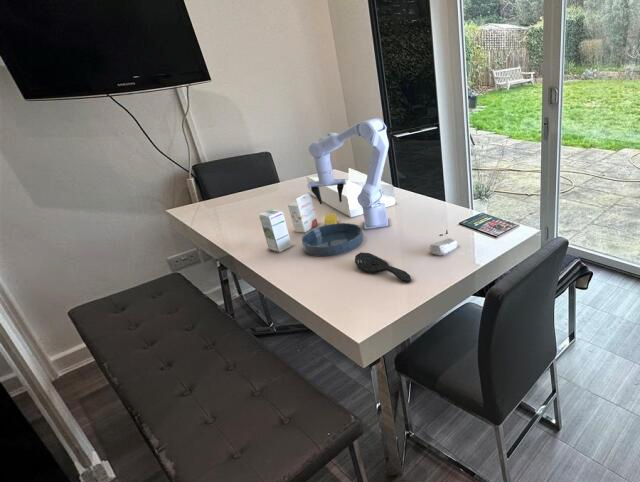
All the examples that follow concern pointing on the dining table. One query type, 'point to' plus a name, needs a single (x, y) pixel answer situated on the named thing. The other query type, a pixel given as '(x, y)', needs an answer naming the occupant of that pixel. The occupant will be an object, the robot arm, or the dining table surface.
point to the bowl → (332, 239)
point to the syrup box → (275, 230)
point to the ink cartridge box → (303, 213)
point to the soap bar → (443, 246)
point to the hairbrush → (378, 266)
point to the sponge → (330, 219)
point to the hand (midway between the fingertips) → (331, 202)
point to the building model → (352, 193)
